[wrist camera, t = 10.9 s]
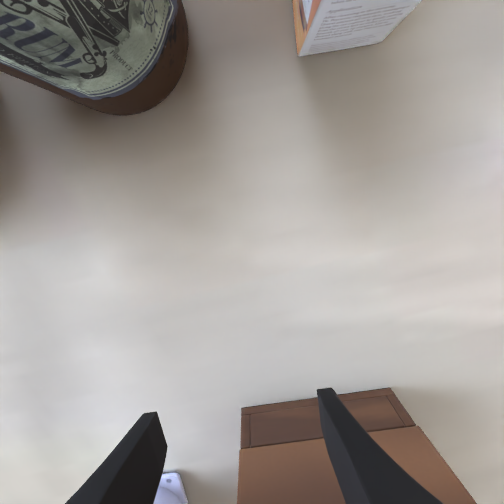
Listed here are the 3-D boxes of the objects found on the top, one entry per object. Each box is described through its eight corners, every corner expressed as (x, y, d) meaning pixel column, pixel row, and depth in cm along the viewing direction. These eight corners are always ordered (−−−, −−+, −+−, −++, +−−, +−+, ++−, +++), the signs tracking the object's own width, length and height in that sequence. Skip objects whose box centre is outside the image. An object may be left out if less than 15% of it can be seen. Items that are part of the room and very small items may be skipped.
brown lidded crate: (392, 474, 27) (415, 521, 23) (258, 491, 27) (259, 540, 23) (390, 387, 24) (416, 424, 20) (241, 407, 24) (240, 447, 21)
